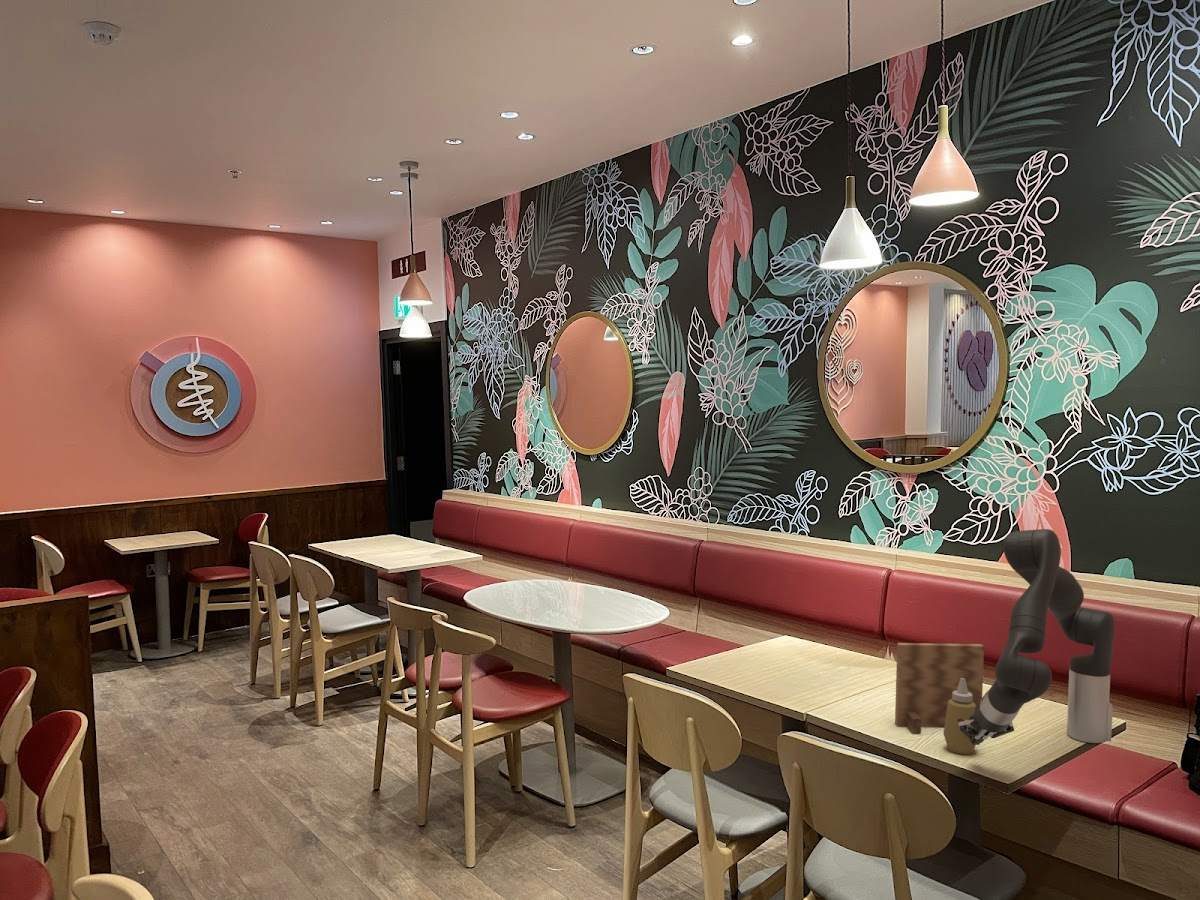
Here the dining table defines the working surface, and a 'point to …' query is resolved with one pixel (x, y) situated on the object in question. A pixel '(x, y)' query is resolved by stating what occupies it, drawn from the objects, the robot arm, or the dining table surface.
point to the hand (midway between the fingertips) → (974, 741)
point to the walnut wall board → (934, 681)
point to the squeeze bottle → (956, 710)
